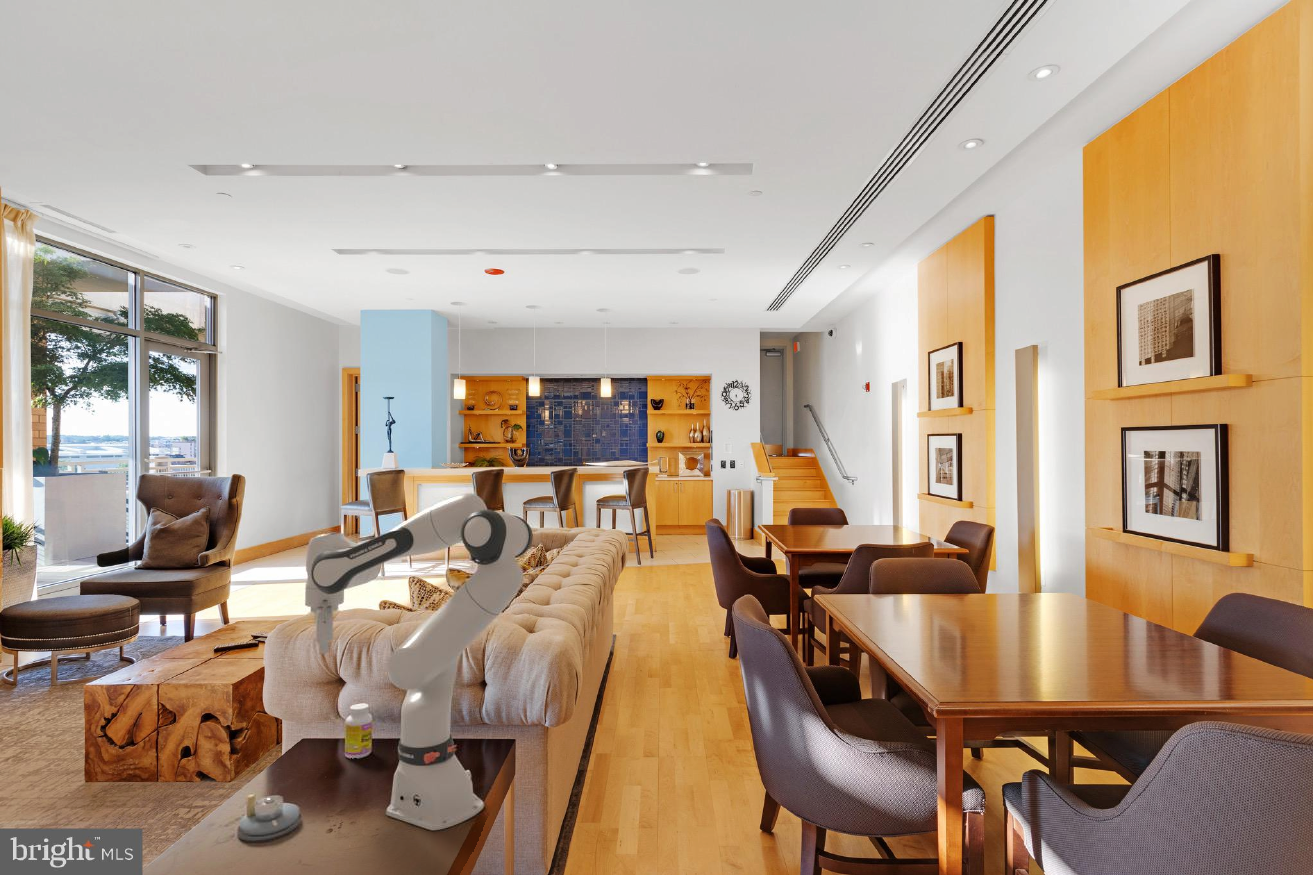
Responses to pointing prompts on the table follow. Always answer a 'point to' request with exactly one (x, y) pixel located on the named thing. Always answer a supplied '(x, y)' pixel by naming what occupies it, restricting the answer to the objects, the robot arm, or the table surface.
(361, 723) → the supplement bottle
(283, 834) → the turntable base
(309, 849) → the table surface
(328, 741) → the table surface
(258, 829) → the turntable
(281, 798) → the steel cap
